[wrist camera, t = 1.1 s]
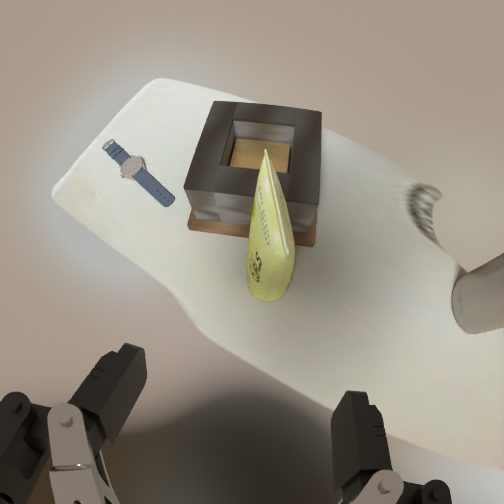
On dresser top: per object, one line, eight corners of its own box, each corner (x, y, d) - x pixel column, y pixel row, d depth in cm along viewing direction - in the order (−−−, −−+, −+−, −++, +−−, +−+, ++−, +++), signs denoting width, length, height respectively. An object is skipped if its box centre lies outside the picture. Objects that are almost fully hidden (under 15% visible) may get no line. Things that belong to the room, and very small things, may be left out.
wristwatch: (115, 136, 45) (113, 133, 44) (182, 195, 40) (180, 192, 39) (96, 151, 44) (94, 148, 43) (160, 215, 39) (158, 212, 38)
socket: (318, 150, 42) (329, 108, 33) (312, 247, 36) (327, 213, 28) (215, 138, 43) (208, 96, 35) (189, 229, 38) (172, 194, 29)
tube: (235, 281, 35) (211, 196, 17) (262, 251, 36) (265, 146, 18) (271, 311, 34) (287, 255, 15) (297, 279, 35) (338, 194, 17)
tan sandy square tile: (289, 149, 36) (290, 144, 36) (284, 192, 34) (285, 188, 33) (237, 143, 37) (236, 138, 36) (226, 185, 35) (225, 181, 34)
